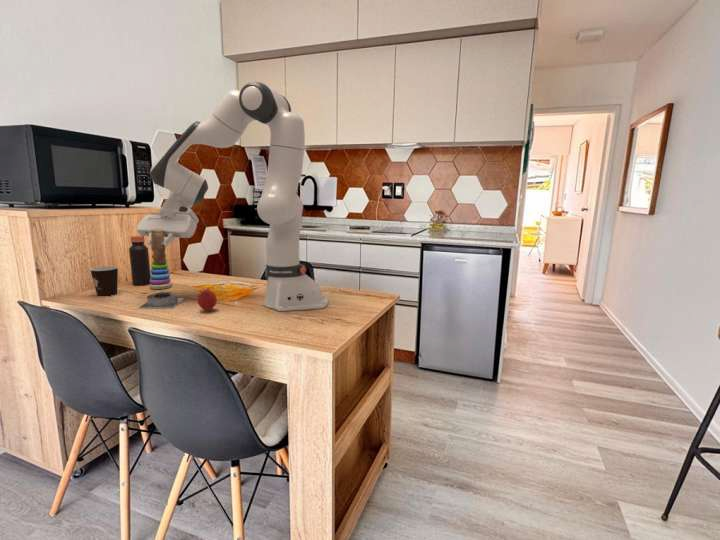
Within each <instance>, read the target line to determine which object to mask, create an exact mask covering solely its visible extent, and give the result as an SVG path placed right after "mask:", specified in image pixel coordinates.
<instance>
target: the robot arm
mask: <svg viewBox="0 0 720 540" xmlns="http://www.w3.org/2000/svg"><path fill="white" fill-rule="evenodd" d="M253 121H257V122H259V123H261V124H264V125H267V127H268V128H269V131H270V141H269V151H268V164H267V171H266V176H265V179H264V180H265V181H264V183H263V187H262V192H261V195H260V198H259V200H258V202H257V207H256V211H257V214H258V217H259V218H260V219H261V220H262V222H264V223H266V224H268V225H269V229H268V236H267V239H266V241H265V242H266V245H265V247H266V249H265V250H266V264H265V279H266V288H265V289H266V290H265V295H264V296H265V297H264V301H263V306H264V307H266V308H269V309H274V310H276V311H278V312H288V311H302V310H304V311H305V310H316V309H317V310H318V309H324V308H326V307H327V306H328V304H329V300H328V297H327V296H326V295H323V293H322V289H321V286H320V283H318V282H317V281H316V280H314V279H313V278H311V277H310V276H309V275H308V274H306V272H307V268H306V266H305V264H302V263H300V235H301V228H302V220H303V219H302V218H303V210H304V204H303V199H302V198H300V196H299V195H298V194H297V191H298V187H299V183H300V180H301V177H302V175H303V165H304V153H305V138H306V137H305V136H306V135H305V122H304V120H303V118H302V117H301V116H300V114H297V113H295V112H292V107H291V105H290V102H289V101H288V99H287V98H286V97H285V96H284V95H282V94H281V93H279V92H278V91H277V90H276V89H274V88H273V87H271V86H268V85H266V84H265V83H262V82H259V81H251V82H247V83H246V84H245V85H244V86H243V87H241V89H240V90H238V89H230V90H229V91H227V93H226V94H225V95H223V97H222V99H220V101H219V102H218V104H217V105H216V107H215V108H214V110H213V112H211V114H210V115H209V117H208V118H206V119H204V120H203V121H198V120H197V121H194V122H193V123H191V125H189V127H188V128H186V130H184V132H182V134H181V135H180V136H179V137H178V138H177V140H175V141H174V143H173V144H172V145H171V146H170V147H169V148H168V149H167V151H166V152H165V154H163V155H162V156H161V157H159V158H158V159H157V160H155V162H154V163H153V164H152V166H151V168H150V171H149V175H150V179H151V180H152V182H153V184H154V185H157V186H159V187H161V188H164V189H166V190H168V191H169V193H168V197H167V198H166V199H165V200H164V202H163V204H162V206H161V208H159V211H158V213H155V212H151V213H150V214H147V215H145V216H144V217H143V218H142V219H141V220H140V222H139V223H137V225H136V228H135V229H136V232H137V233H138V234H140V235H139V236H144V237H148V239H149V240H148V241H147V245H148V246H153V245H152V234H151V230H153V229H163V234H164V240H162V242H161V245H162V246H165V247H168V246H169V244H170V243H171V242H172V241H174V240H175V238H177V239H178V238H179V239H190V238H192V237H193V236H194V235H195V232H196V229H197V227H198V225H197V224H198V223H199V221H200V220H199V218H198V216H197V215H196V213H195V212H194V211H193V210H192V208H193V206H196V205H199V204H201V203H202V201H203V199H204V197H205V195H206V193H207V191H208V189H209V185H208V182H207V179H205V178H204V177H203V176H201V175H200V174H198V173H196V172H194V171H192V170H190V169H189V168H187V167H185V166H184V165H182V164H180V163H179V162H178V160H179V159H180V157H181V156H182V155H183V154H184V153H185V151H187V150H188V149H189V147H190V146H193V145H204V146H210V147H213V148H217V149H219V148H220V149H226V148H230V147H233V146H235V145H236V144H237V142H238V140H240V138H241V137H242V136H243V133H244V132H245V131H246V128H247V127H248V126H249V124H250V123H252V122H253Z"/></svg>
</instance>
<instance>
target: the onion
mask: <svg viewBox="0 0 720 540" xmlns="http://www.w3.org/2000/svg"><path fill="white" fill-rule="evenodd" d="M217 301H218V299H217V296H216V294H215V293H214V292H213V291H212V290H210V288H209V287H207V286H206V287H204V289H203V291H201V292H200V293H199V295H198V297H197V304H198V306H199V307H200V308H201V309H202V310H204V311H206V312H210V311H211V310H212V309H213V308H214V307H215V306H216V305H217Z"/></svg>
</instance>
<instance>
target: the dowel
mask: <svg viewBox="0 0 720 540" xmlns="http://www.w3.org/2000/svg"><path fill="white" fill-rule="evenodd" d="M151 234H152V245H153V251H152V254H153V256H154V265H155V266H163V265H166V263H167V262H166V260H167V258H166V257H165V254H166V248H165V246H162V245H161V242H162V240H165V237H164V234H163V229H153V230H151Z"/></svg>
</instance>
